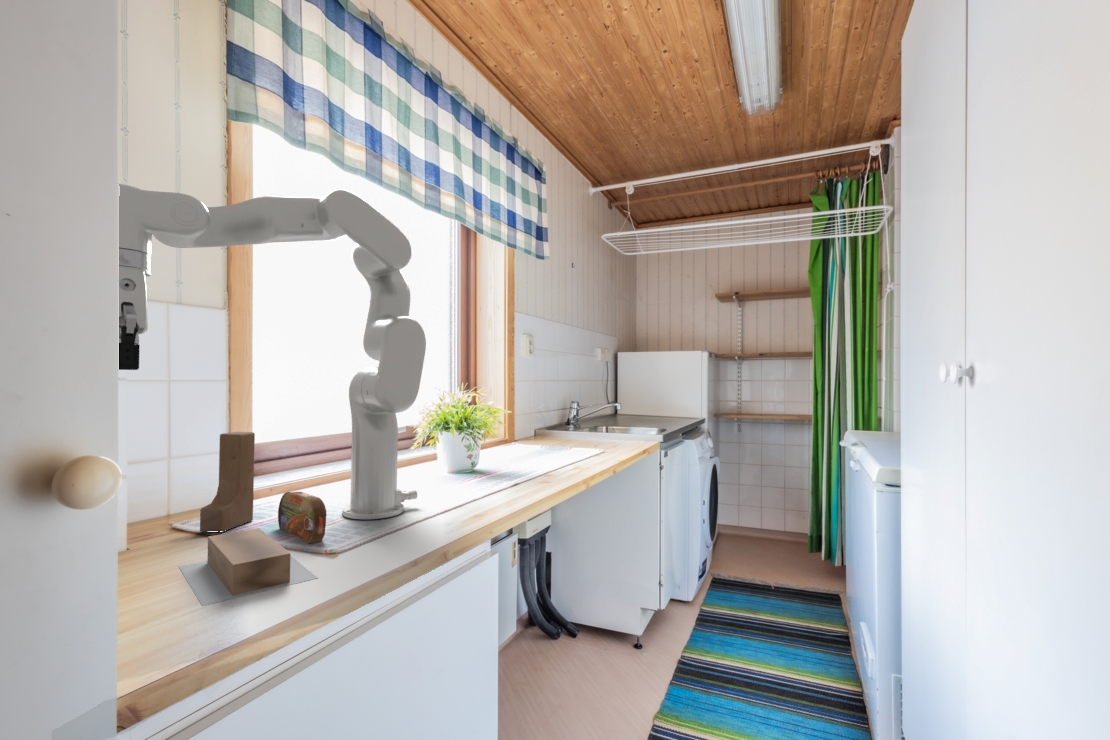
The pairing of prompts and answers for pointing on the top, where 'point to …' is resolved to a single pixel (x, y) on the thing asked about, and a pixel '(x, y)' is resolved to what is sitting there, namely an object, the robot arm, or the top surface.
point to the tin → (302, 516)
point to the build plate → (215, 591)
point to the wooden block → (232, 484)
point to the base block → (248, 560)
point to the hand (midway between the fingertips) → (119, 369)
